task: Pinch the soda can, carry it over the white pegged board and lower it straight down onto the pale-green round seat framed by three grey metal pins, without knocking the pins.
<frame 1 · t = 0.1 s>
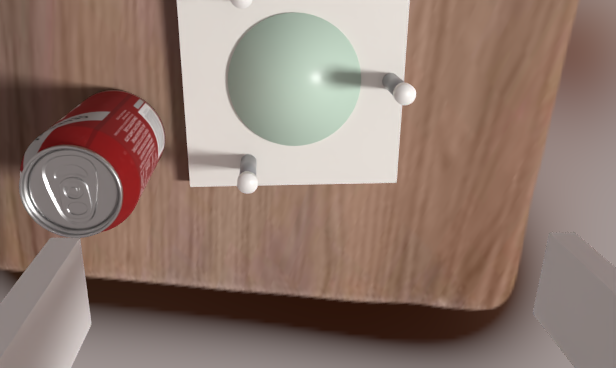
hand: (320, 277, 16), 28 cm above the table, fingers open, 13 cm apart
white pegged board: (293, 78, 42), on the table
soda can: (121, 131, 42), on the table
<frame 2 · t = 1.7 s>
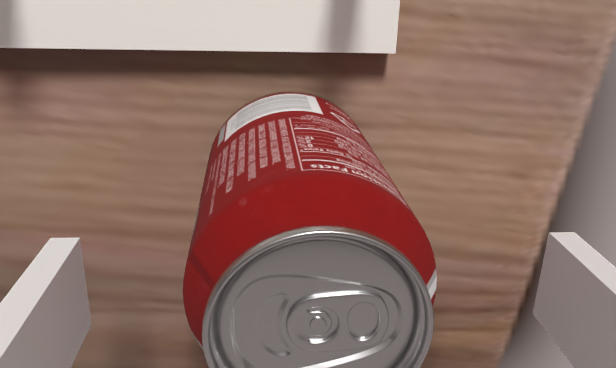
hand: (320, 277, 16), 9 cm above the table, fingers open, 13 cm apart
soda can: (288, 163, 24), on the table
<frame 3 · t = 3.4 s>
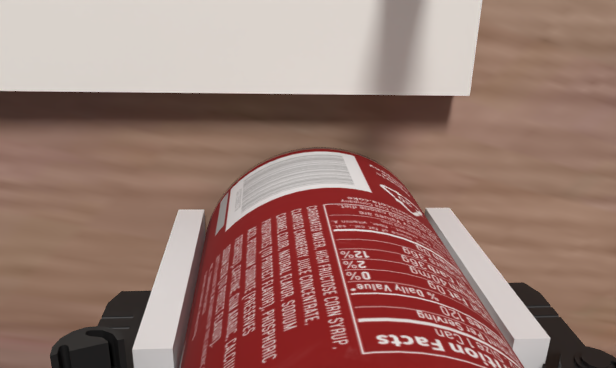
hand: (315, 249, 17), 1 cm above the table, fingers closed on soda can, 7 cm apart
soda can: (313, 238, 18), on the table, touching gripper
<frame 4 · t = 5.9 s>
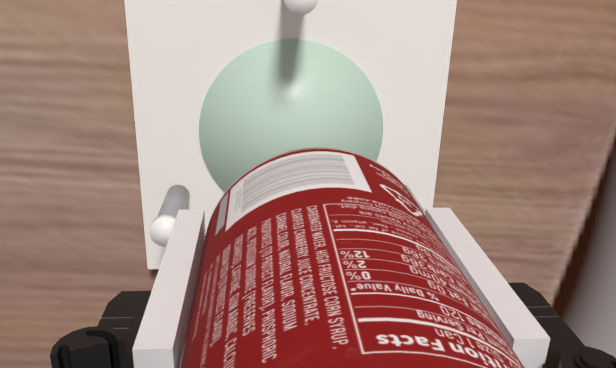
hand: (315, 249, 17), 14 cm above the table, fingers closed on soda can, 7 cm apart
white pegged board: (290, 126, 30), on the table
soda can: (313, 238, 18), point 13 cm above the table, touching gripper
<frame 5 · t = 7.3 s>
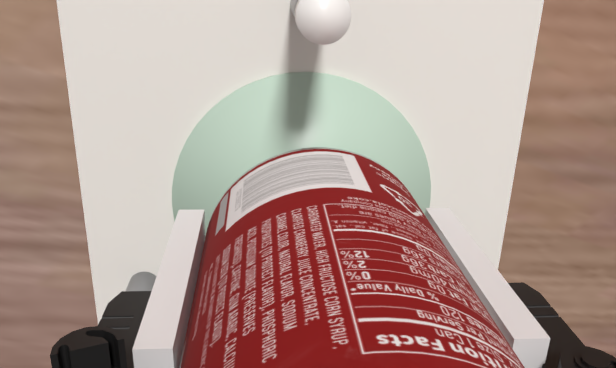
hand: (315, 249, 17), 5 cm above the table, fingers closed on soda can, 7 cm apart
white pegged board: (301, 188, 22), on the table
soda can: (313, 238, 18), point 4 cm above the table, touching gripper
when the fingers open (3 cm above the table, at t = 8.5 s): soda can drops 1 cm, resting on white pegged board.
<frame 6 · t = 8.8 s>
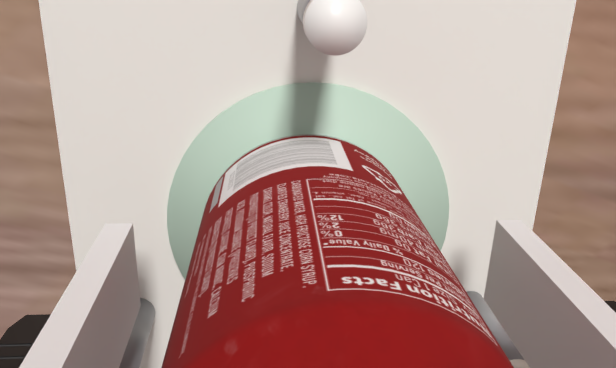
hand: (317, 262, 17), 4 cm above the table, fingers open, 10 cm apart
white pegged board: (307, 207, 20), on the table
soda can: (304, 222, 19), point 1 cm above the table, touching white pegged board
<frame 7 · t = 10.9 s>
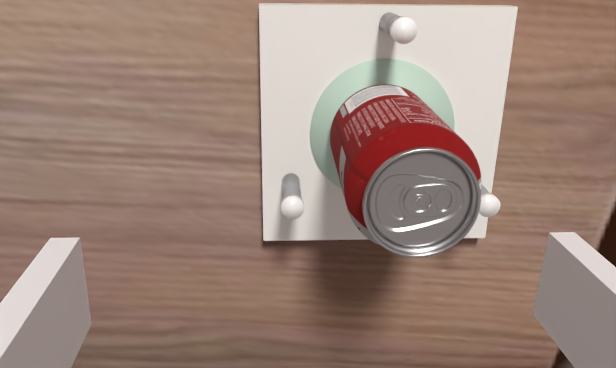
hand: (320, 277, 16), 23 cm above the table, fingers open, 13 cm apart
white pegged board: (379, 126, 38), on the table
soda can: (379, 131, 37), point 1 cm above the table, touching white pegged board
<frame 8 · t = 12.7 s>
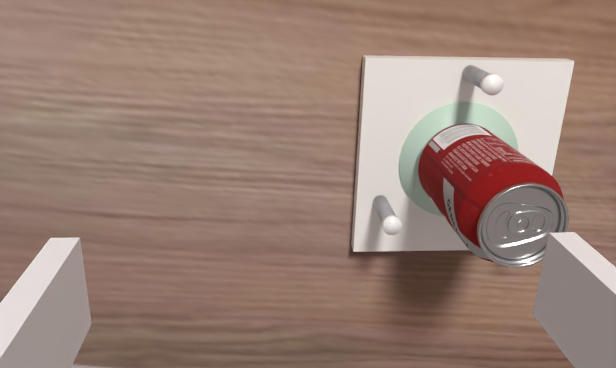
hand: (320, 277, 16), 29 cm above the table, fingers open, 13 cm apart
white pegged board: (453, 156, 46), on the table
soda can: (456, 161, 45), point 1 cm above the table, touching white pegged board
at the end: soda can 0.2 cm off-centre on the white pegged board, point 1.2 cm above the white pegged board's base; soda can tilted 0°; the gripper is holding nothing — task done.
